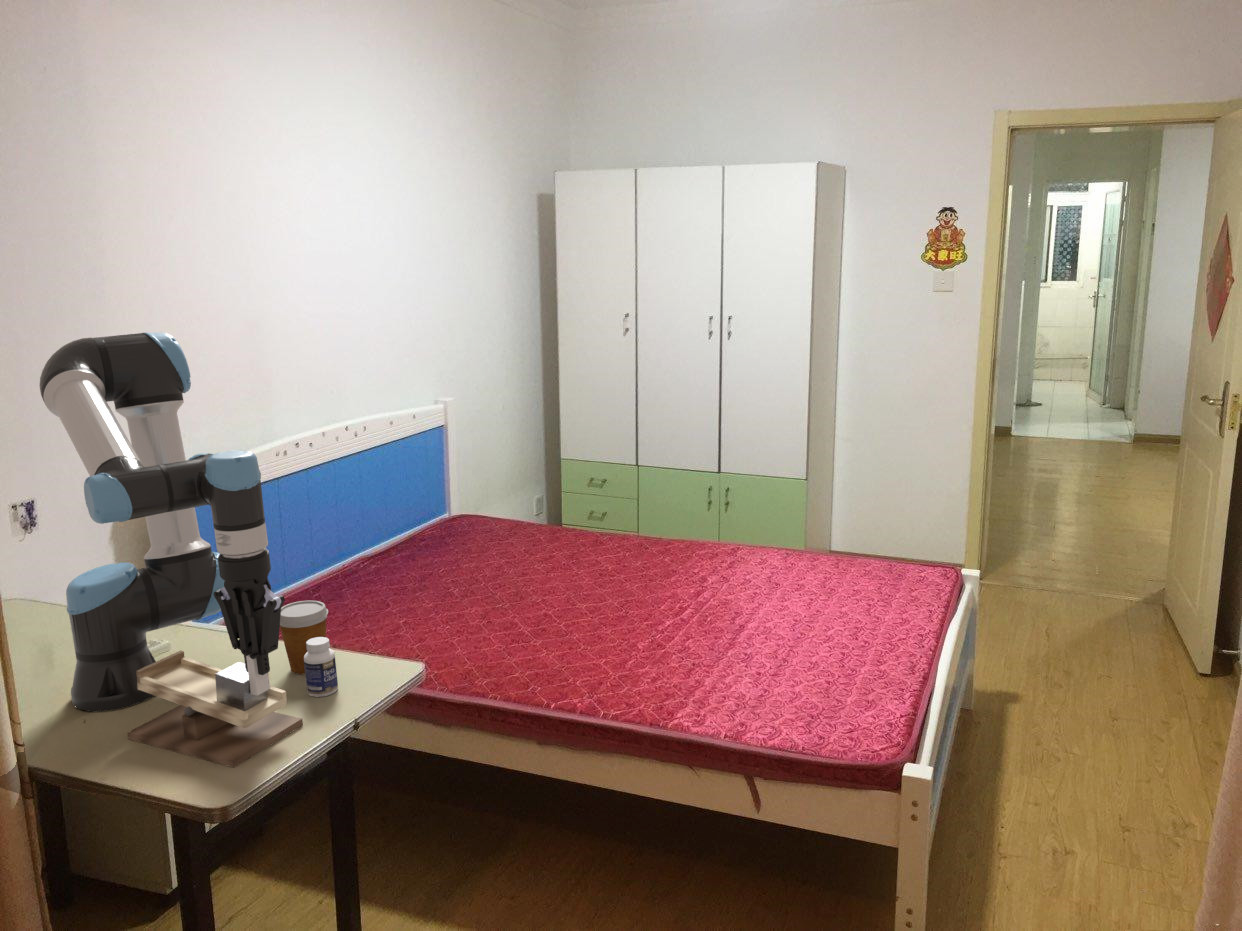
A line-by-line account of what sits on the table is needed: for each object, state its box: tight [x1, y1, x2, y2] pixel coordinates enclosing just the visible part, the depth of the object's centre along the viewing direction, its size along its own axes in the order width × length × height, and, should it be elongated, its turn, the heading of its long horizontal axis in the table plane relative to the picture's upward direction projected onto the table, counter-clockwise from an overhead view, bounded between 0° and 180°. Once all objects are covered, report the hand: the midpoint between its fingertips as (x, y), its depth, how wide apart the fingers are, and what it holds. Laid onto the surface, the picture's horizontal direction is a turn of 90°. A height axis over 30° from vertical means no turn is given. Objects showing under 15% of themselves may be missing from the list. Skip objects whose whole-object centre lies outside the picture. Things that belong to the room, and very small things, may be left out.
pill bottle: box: [304, 636, 339, 698], centre depth 182 cm, size 5×5×10 cm
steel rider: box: [215, 661, 268, 711], centre depth 164 cm, size 6×5×5 cm
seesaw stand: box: [127, 705, 304, 768], centre depth 169 cm, size 24×15×5 cm, turn 64°
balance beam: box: [136, 650, 287, 728], centre depth 167 cm, size 24×10×4 cm, turn 64°
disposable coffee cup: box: [279, 600, 329, 675], centre depth 192 cm, size 10×10×12 cm
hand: (260, 691), depth 162 cm, fingers closed
